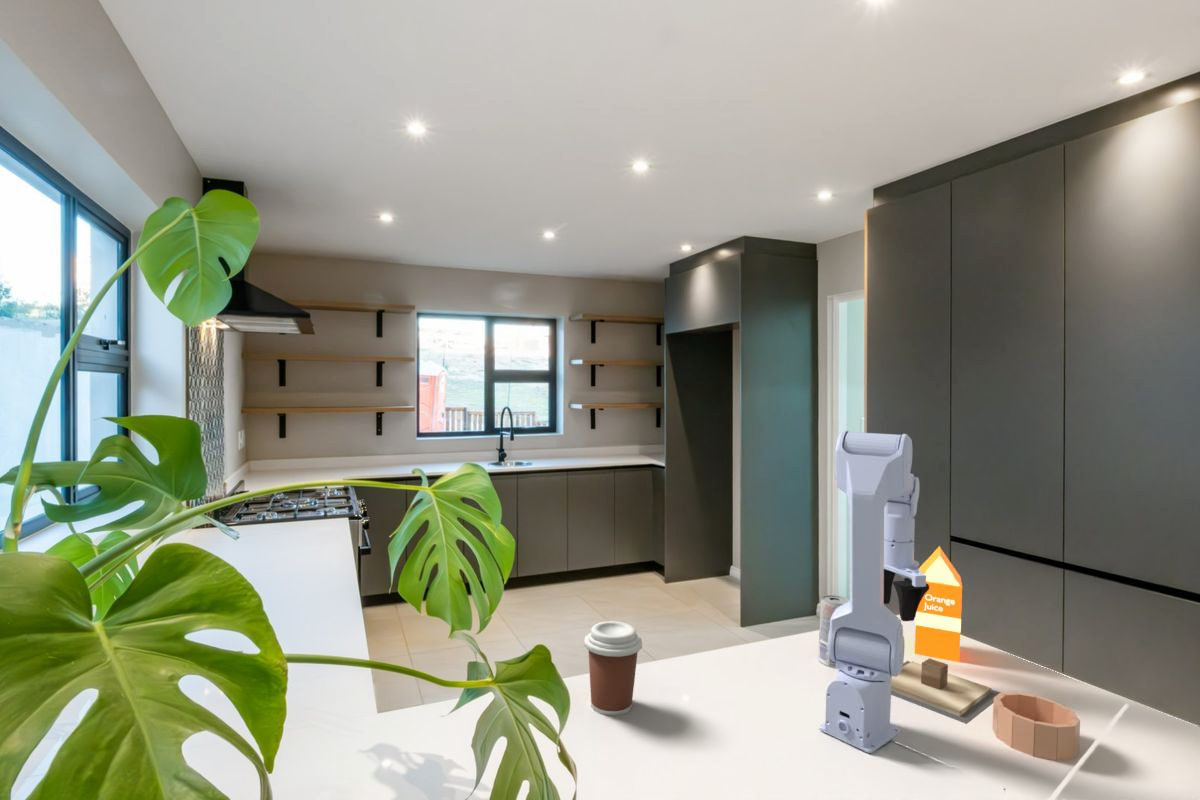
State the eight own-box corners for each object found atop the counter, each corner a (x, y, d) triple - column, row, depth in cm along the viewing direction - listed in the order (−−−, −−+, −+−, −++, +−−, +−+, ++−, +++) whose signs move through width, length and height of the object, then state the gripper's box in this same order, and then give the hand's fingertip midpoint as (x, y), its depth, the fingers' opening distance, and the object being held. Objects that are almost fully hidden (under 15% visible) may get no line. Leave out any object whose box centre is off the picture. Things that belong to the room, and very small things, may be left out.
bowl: (1065, 771, 85) (1066, 734, 85) (982, 739, 93) (984, 705, 93) (1086, 746, 92) (1087, 712, 92) (1007, 718, 100) (1008, 686, 99)
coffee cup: (587, 722, 95) (590, 641, 94) (577, 693, 104) (580, 619, 103) (647, 717, 96) (649, 638, 96) (632, 689, 105) (634, 617, 105)
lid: (959, 716, 99) (960, 688, 99) (877, 685, 109) (878, 660, 109) (991, 692, 107) (991, 667, 107) (912, 665, 117) (913, 642, 117)
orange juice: (958, 648, 127) (961, 548, 127) (960, 664, 119) (964, 558, 119) (914, 640, 131) (917, 542, 130) (913, 655, 123) (917, 552, 122)
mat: (966, 726, 97) (966, 723, 97) (864, 686, 109) (864, 684, 109) (1004, 696, 107) (1004, 693, 107) (907, 662, 119) (907, 660, 119)
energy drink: (844, 659, 120) (847, 595, 120) (853, 671, 115) (855, 605, 115) (815, 657, 121) (817, 594, 120) (822, 669, 115) (824, 603, 115)
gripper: (943, 549, 109) (941, 626, 110) (894, 526, 123) (892, 595, 124) (904, 551, 108) (902, 629, 109) (859, 528, 122) (858, 597, 123)
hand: (894, 611), depth 116 cm, fingers open, 7 cm apart
